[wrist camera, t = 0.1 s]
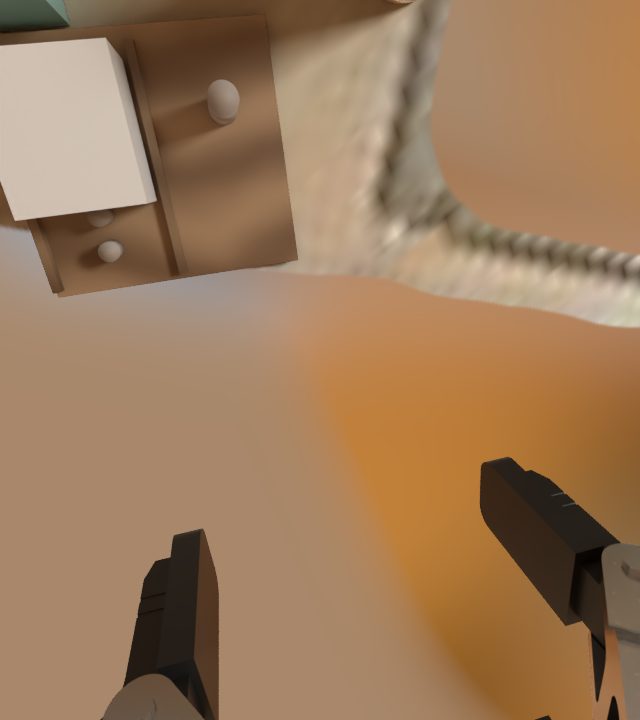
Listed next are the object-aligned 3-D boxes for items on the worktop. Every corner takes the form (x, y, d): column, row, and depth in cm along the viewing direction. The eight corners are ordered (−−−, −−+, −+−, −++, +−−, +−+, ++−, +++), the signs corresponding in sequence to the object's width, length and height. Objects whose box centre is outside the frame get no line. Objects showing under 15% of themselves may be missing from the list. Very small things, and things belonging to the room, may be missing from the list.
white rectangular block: (-6, 70, 29) (-48, 49, 24) (122, 59, 30) (105, 37, 26) (43, 215, 32) (14, 220, 28) (157, 200, 34) (147, 203, 29)
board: (-24, 41, 29) (-82, 8, 24) (263, 20, 32) (272, -16, 27) (63, 293, 36) (34, 314, 30) (295, 257, 39) (309, 270, 33)
